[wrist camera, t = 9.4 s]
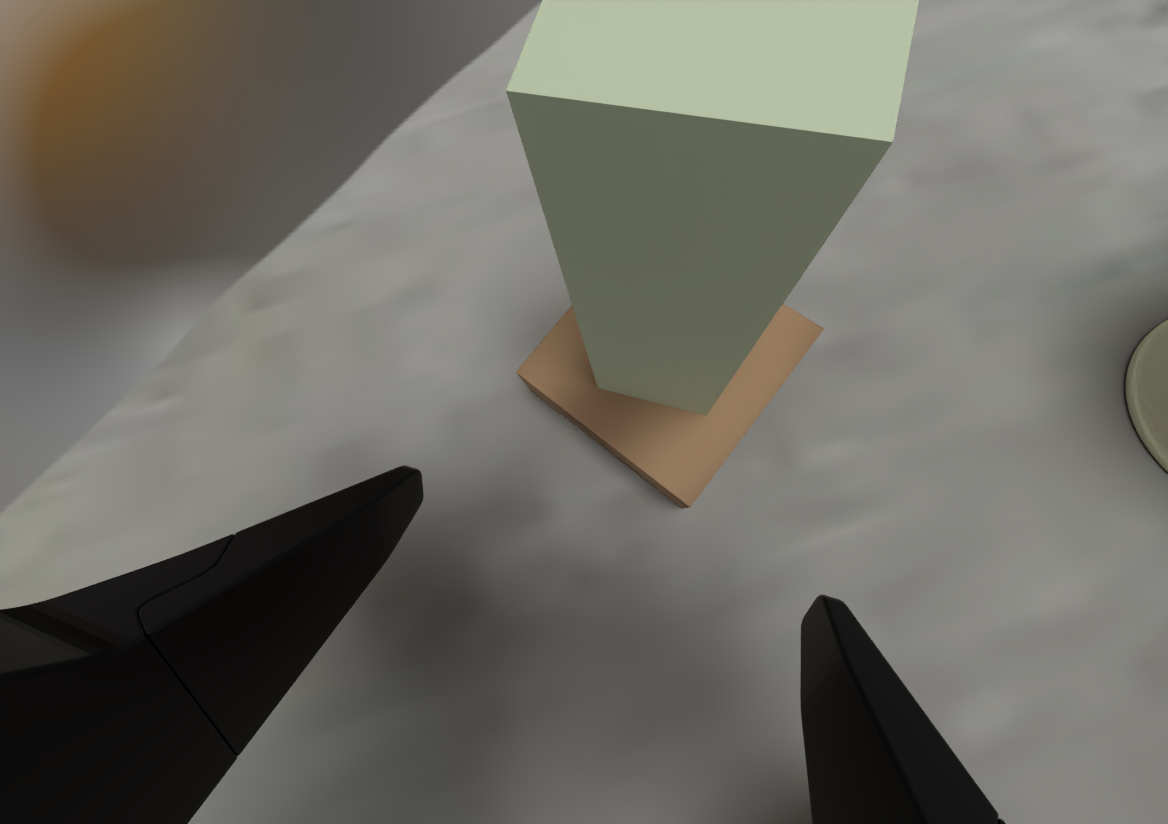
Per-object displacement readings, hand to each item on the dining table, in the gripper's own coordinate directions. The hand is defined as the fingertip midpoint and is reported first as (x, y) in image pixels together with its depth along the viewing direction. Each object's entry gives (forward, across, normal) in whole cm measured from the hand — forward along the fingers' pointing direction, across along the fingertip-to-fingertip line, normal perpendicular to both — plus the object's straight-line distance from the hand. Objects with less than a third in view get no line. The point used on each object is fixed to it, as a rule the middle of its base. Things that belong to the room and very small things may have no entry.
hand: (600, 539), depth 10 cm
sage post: (+10, 0, 0) cm, 10 cm away
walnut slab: (+13, 0, +2) cm, 13 cm away
